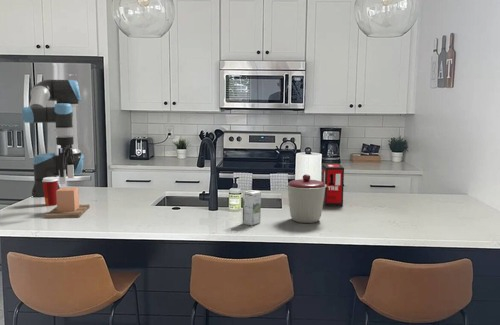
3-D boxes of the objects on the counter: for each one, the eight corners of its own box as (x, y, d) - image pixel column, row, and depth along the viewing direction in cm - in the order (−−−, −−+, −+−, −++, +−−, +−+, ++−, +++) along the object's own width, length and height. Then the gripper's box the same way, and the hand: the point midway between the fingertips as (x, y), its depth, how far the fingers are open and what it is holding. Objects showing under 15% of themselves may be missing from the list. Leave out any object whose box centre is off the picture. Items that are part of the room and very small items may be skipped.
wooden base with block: (58, 207, 229) (57, 189, 228) (89, 207, 231) (88, 188, 230) (45, 218, 210) (44, 197, 208) (79, 217, 211) (78, 197, 210)
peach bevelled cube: (62, 207, 224) (61, 187, 222) (79, 207, 225) (78, 187, 223) (57, 211, 216) (56, 190, 214) (74, 211, 217) (73, 190, 215)
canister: (284, 225, 200) (285, 177, 197) (286, 214, 218) (287, 170, 215) (326, 226, 198) (327, 178, 195) (325, 216, 215) (326, 171, 212)
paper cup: (62, 203, 240) (60, 176, 238) (54, 206, 233) (53, 179, 231) (48, 202, 241) (46, 176, 239) (40, 206, 233) (38, 179, 231)
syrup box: (250, 221, 206) (250, 189, 204) (260, 223, 202) (261, 191, 200) (242, 223, 202) (242, 191, 200) (252, 226, 198) (252, 193, 196)
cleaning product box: (321, 199, 252) (322, 163, 249) (337, 199, 252) (338, 163, 249) (325, 206, 235) (326, 167, 233) (342, 206, 235) (344, 167, 233)
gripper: (64, 134, 227) (66, 176, 230) (47, 139, 203) (50, 186, 206) (79, 134, 228) (81, 175, 231) (65, 139, 203) (67, 185, 207)
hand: (67, 180), depth 219 cm, fingers open, 13 cm apart
